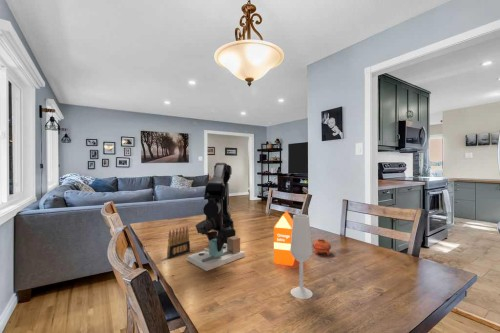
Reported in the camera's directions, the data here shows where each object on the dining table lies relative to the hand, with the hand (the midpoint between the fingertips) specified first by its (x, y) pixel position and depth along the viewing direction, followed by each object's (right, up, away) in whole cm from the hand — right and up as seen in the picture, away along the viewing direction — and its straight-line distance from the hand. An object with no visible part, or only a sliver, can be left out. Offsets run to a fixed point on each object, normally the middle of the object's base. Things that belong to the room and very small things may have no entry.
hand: (215, 250), depth 97 cm
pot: (+46, -5, +9) cm, 48 cm away
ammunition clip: (-18, -5, +9) cm, 21 cm away
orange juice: (+29, -5, +2) cm, 29 cm away
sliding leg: (-2, -2, +2) cm, 4 cm away
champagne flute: (+30, -5, -24) cm, 39 cm away
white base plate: (0, -5, +4) cm, 6 cm away
